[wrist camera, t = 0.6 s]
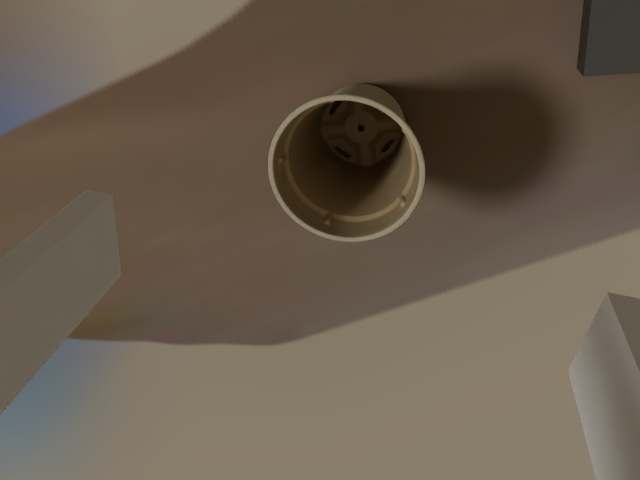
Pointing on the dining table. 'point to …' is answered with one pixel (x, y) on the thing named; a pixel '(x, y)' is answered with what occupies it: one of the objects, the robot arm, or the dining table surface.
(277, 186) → the flower pot
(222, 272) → the dining table surface
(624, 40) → the console
